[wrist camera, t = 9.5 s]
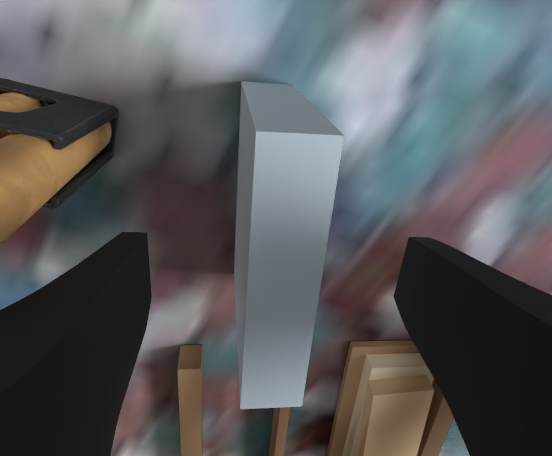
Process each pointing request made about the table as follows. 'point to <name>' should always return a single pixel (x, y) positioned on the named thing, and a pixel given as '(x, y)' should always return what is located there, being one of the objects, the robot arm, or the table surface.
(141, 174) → the table surface
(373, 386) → the offcut oak
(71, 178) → the ammunition clip
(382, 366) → the offcut birch
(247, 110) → the block
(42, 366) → the robot arm
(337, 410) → the rack
